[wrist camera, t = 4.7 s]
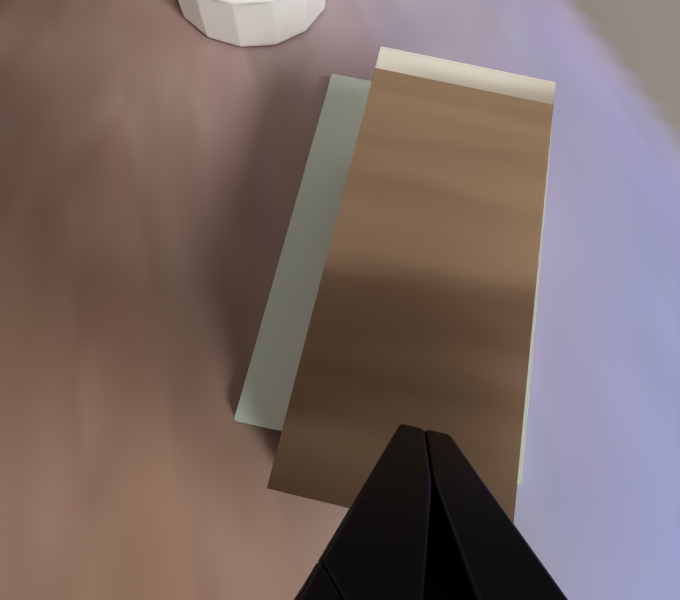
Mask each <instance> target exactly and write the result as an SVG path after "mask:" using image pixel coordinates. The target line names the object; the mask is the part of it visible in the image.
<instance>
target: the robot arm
mask: <svg viewBox="0 0 680 600" xmlns="http://www.w3.org/2000/svg"><path fill="white" fill-rule="evenodd" d="M294 600H568V599H567V598H566V596H565V595H564V594H563V592H562V591H561V589H560V588H559V587H558V585H557V584H556V582H555V581H554V580H553V578H552V577H551V575H550V574H549V573H548V571H547V570H546V568H545V567H544V566H543V564H542V563H541V561H540V560H539V559H538V557H537V556H536V554H535V553H534V552H533V550H532V549H531V547H530V546H529V545H528V543H527V542H526V540H525V539H524V538H523V536H522V535H521V533H520V532H519V531H518V529H517V528H516V527H515V525H514V524H513V522H512V521H511V520H510V518H509V517H508V515H507V514H506V513H505V511H504V510H503V508H502V507H501V506H500V504H499V503H498V501H497V500H496V499H495V497H494V496H493V494H492V493H491V492H490V490H489V489H488V487H487V486H486V485H485V483H484V482H483V480H482V479H481V478H480V476H479V475H478V473H477V472H476V471H475V469H474V468H473V466H472V465H471V464H470V462H469V461H468V459H467V458H466V457H465V455H464V454H463V452H462V451H461V450H460V448H459V447H458V445H457V444H456V443H455V441H454V440H453V438H452V437H451V436H450V435H448V434H446V433H441V432H437V431H432V430H426V431H425V432H424V430H423V429H422V428H419V427H415V426H410V425H406V424H401V425H399V426H398V428H397V430H396V431H395V433H394V435H393V436H392V438H391V440H390V441H389V443H388V445H387V446H386V448H385V450H384V452H383V453H382V455H381V457H380V458H379V460H378V462H377V463H376V465H375V467H374V468H373V470H372V472H371V473H370V475H369V477H368V478H367V480H366V482H365V483H364V485H363V487H362V488H361V490H360V492H359V493H358V495H357V497H356V499H355V500H354V502H353V504H352V505H351V507H350V509H349V510H348V512H347V514H346V515H345V517H344V519H343V520H342V522H341V524H340V525H339V527H338V529H337V530H336V532H335V534H334V535H333V537H332V539H331V540H330V542H329V544H328V545H327V547H326V549H325V551H324V552H323V554H322V556H321V557H320V559H319V561H318V563H317V564H316V565H315V567H314V568H313V570H312V572H311V573H310V575H309V577H308V578H307V580H306V582H305V583H304V585H303V586H302V588H301V590H300V591H299V593H298V594H297V596H296V597H295V599H294Z"/></svg>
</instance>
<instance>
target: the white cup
mask: <svg viewBox="0 0 680 600" xmlns="http://www.w3.org/2000/svg"><path fill="white" fill-rule="evenodd" d="M178 2H179V5H180V7H181V10H182V13H183V16H184V17H185V18H186V19H187V20H188V21H189V22H190V23H192V24H193V25H194V26H195V27H196V28H198V29H199V30H200V31H201V32H202V33H204V34H205V35H206V36H207V37H209V38H212V39H216V40H219V41H222V42H226V43H229V44H233V45H236V46H240V47H247V46H263V45H275V44H278V43H281V42H283V41H285V40H287V39H289V38H292V37H294V36H296V35H298V34H300V33H302V32H305V31H306V30H307V29H308V28H309V27H310V26H311V24H312V23H313V22H314V21H315V20H316V18H317V17H318V16H319V15H320V14H321V13H322V11H323V10H324V9H325V4H326V0H178Z"/></svg>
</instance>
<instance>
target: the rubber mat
mask: <svg viewBox="0 0 680 600" xmlns="http://www.w3.org/2000/svg"><path fill="white" fill-rule="evenodd" d="M371 83H372V81H368V80H363V79H358V78H353V77H348V76H343V75H338V74H333V73H332V75H331V79H330V82H329V86H328V89H327V93H326V96H325V100H324V103H323V107H322V110H321V114H320V117H319V121H318V125H317V128H316V132H315V135H314V139H313V142H312V146H311V149H310V153H309V156H308V160H307V163H306V167H305V171H304V174H303V178H302V181H301V185H300V188H299V192H298V195H297V199H296V202H295V206H294V209H293V213H292V216H291V220H290V224H289V227H288V231H287V234H286V238H285V241H284V245H283V248H282V252H281V255H280V259H279V262H278V266H277V269H276V273H275V277H274V280H273V284H272V287H271V291H270V294H269V298H268V301H267V305H266V308H265V312H264V315H263V319H262V323H261V326H260V330H259V333H258V337H257V340H256V344H255V347H254V351H253V354H252V358H251V361H250V365H249V368H248V372H247V376H246V379H245V383H244V386H243V390H242V393H241V397H240V400H239V404H238V407H237V411H236V414H235V418H234V420H236V421H238V422H242V423H246V424H251V425H255V426H260V427H264V428H268V429H273V430H277V431H282V428H283V424H284V421H285V417H286V413H287V409H288V405H289V401H290V397H291V393H292V389H293V386H294V382H295V378H296V374H297V370H298V366H299V362H300V358H301V355H302V351H303V347H304V343H305V339H306V335H307V331H308V327H309V324H310V320H311V316H312V312H313V308H314V304H315V300H316V296H317V292H318V289H319V285H320V281H321V277H322V273H323V269H324V265H325V261H326V258H327V254H328V250H329V246H330V242H331V238H332V234H333V230H334V227H335V223H336V219H337V215H338V211H339V207H340V203H341V199H342V195H343V192H344V188H345V184H346V180H347V176H348V172H349V168H350V164H351V161H352V157H353V153H354V149H355V145H356V141H357V137H358V133H359V130H360V126H361V122H362V118H363V114H364V110H365V106H366V102H367V98H368V95H369V91H370V87H371ZM552 119H553V118H552ZM551 131H552V125H551ZM550 143H551V136H550ZM549 155H550V146H549ZM548 167H549V156H548ZM548 167H547V177H546V188H545V198H544V209H543V219H542V229H541V240H540V250H539V261H538V271H537V282H536V292H535V302H534V313H533V323H532V334H531V344H530V355H529V365H528V375H527V386H526V396H525V407H524V417H523V428H522V438H521V448H520V459H519V469H518V480H517V485H522V476H523V464H524V452H525V440H526V428H527V416H528V404H529V392H530V381H531V369H532V357H533V345H534V333H535V321H536V309H537V297H538V286H539V274H540V262H541V250H542V238H543V226H544V214H545V202H546V191H547V179H548Z"/></svg>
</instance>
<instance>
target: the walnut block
mask: <svg viewBox="0 0 680 600" xmlns="http://www.w3.org/2000/svg"><path fill="white" fill-rule="evenodd" d="M555 83H556V82H552V81H547V80H542V79H537V78H532V77H527V76H523V75H518V74H513V73H508V72H503V71H498V70H493V69H488V68H484V67H479V66H474V65H469V64H464V63H459V62H454V61H450V60H445V59H440V58H435V57H430V56H425V55H420V54H416V53H411V52H406V51H401V50H396V49H391V48H386V47H381V48H380V52H379V56H378V60H377V64H376V67H375V71H374V75H373V79H372V83H371V87H370V91H369V95H368V98H367V102H366V106H365V110H364V114H363V118H362V122H361V126H360V130H359V133H358V137H357V141H356V145H355V149H354V153H353V157H352V161H351V164H350V168H349V172H348V176H347V180H346V184H345V188H344V192H343V195H342V199H341V203H340V207H339V211H338V215H337V219H336V223H335V227H334V230H333V234H332V238H331V242H330V246H329V250H328V254H327V258H326V261H325V265H324V269H323V273H322V277H321V281H320V285H319V289H318V292H317V296H316V300H315V304H314V308H313V312H312V316H311V320H310V324H309V327H308V331H307V335H306V339H305V343H304V347H303V351H302V355H301V358H300V362H299V366H298V370H297V374H296V378H295V382H294V386H293V389H292V393H291V397H290V401H289V405H288V409H287V413H286V417H285V421H284V424H283V428H282V432H281V436H280V440H279V444H278V448H277V452H276V455H275V459H274V463H273V467H272V471H271V475H270V479H269V483H268V486H267V488H269V489H273V490H277V491H281V492H285V493H289V494H293V495H297V496H302V497H306V498H310V499H314V500H318V501H322V502H326V503H331V504H335V505H339V506H343V507H347V508H350V507H351V505H352V504H353V502H354V500H355V499H356V497H357V495H358V493H359V492H360V490H361V488H362V487H363V485H364V483H365V482H366V480H367V478H368V477H369V475H370V473H371V472H372V470H373V468H374V467H375V465H376V463H377V462H378V460H379V458H380V457H381V455H382V453H383V452H384V450H385V448H386V446H387V445H388V443H389V441H390V440H391V438H392V436H393V435H394V433H395V431H396V430H397V428H398V426H399V425H401V424H406V425H410V426H415V427H419V428H422V429H423V430H424V432H425V431H426V430H432V431H437V432H441V433H446V434H448V435H450V436H451V437H452V438H453V440H454V441H455V443H456V444H457V445H458V447H459V448H460V450H461V451H462V452H463V454H464V455H465V457H466V458H467V459H468V461H469V462H470V464H471V465H472V466H473V468H474V469H475V471H476V472H477V473H478V475H479V476H480V478H481V479H482V480H483V482H484V483H485V485H486V486H487V487H488V489H489V490H490V492H491V493H492V494H493V496H494V497H495V499H496V500H497V501H498V503H499V504H500V506H501V507H502V508H503V510H504V511H505V513H506V514H507V515H508V517H509V518H510V520H511V521H512V522H513V521H514V511H515V501H516V490H517V480H518V469H519V459H520V448H521V438H522V428H523V417H524V407H525V396H526V386H527V375H528V365H529V355H530V344H531V334H532V323H533V313H534V302H535V292H536V282H537V271H538V261H539V250H540V240H541V229H542V219H543V209H544V198H545V188H546V177H547V167H548V156H549V146H550V136H551V125H552V115H553V104H554V94H555Z"/></svg>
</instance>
